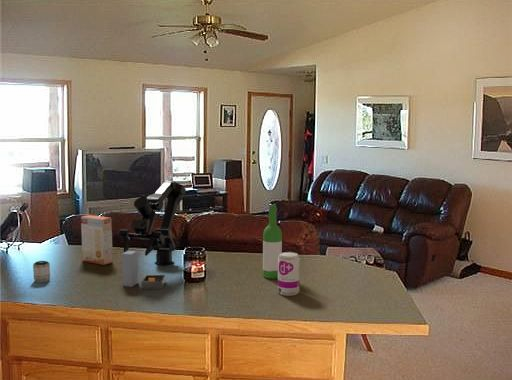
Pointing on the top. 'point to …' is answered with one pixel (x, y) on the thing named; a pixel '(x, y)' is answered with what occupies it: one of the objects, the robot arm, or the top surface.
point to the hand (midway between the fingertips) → (135, 254)
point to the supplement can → (288, 273)
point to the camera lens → (41, 271)
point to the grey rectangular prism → (130, 268)
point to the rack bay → (153, 282)
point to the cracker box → (96, 239)
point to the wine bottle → (271, 246)
